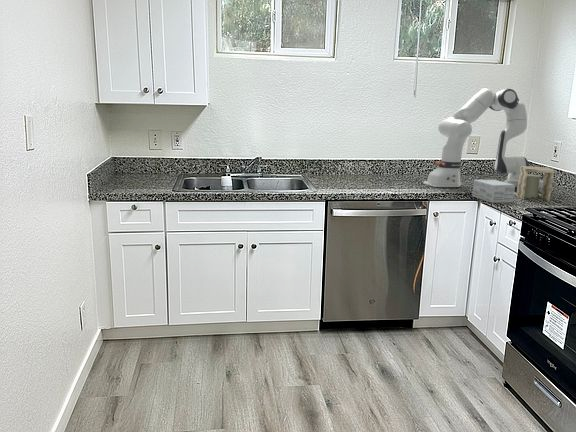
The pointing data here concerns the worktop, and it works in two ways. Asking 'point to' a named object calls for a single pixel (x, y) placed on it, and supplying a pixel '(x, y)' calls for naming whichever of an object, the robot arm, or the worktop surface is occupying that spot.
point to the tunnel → (546, 185)
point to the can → (532, 185)
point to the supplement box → (493, 191)
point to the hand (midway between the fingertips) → (528, 185)
